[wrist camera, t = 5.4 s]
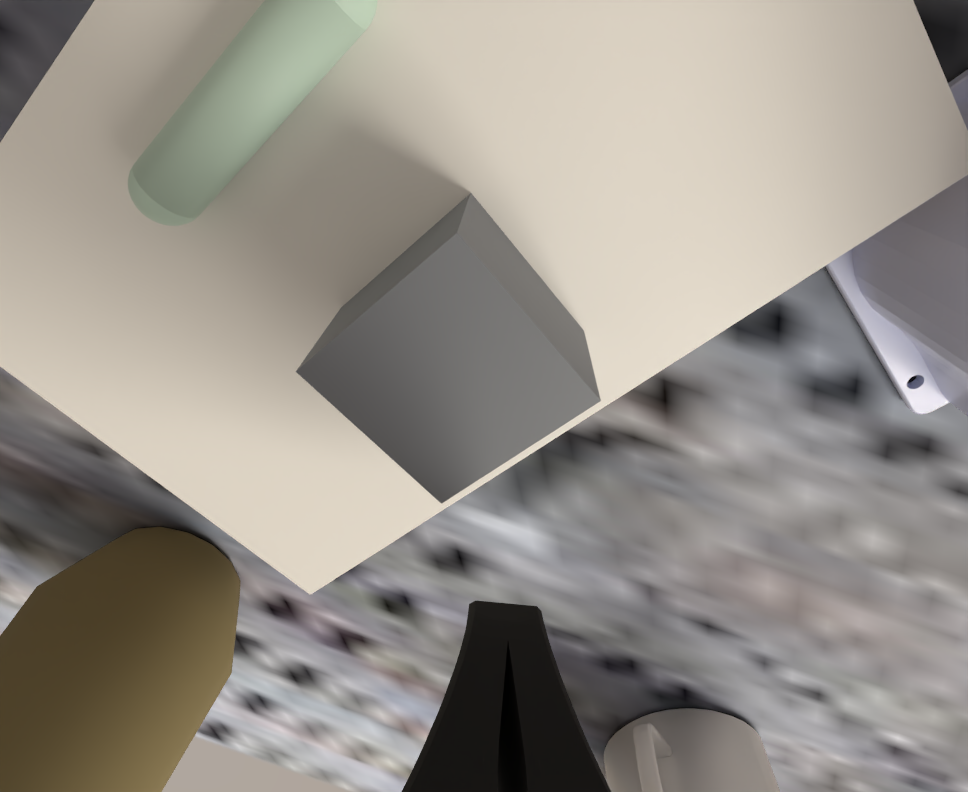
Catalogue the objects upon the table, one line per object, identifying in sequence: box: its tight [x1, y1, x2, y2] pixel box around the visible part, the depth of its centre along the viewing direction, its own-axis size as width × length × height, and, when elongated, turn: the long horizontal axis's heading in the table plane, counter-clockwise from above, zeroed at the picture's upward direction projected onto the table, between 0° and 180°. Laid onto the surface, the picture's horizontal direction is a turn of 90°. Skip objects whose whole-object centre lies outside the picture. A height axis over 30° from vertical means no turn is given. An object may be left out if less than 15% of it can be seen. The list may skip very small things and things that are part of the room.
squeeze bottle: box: [0, 527, 240, 792], centre depth 18 cm, size 8×8×18 cm
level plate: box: [0, 0, 968, 595], centre depth 12 cm, size 13×20×4 cm, turn 130°
